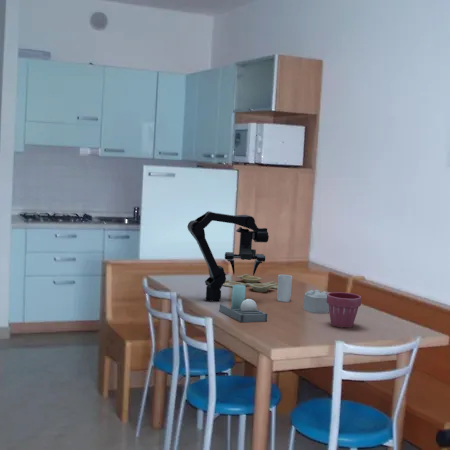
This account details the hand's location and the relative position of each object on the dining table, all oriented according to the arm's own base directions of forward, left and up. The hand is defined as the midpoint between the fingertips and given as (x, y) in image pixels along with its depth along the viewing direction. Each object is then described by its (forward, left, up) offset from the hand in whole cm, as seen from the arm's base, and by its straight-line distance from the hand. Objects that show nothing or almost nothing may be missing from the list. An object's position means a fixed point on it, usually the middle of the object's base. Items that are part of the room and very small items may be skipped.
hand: (243, 275), depth 330 cm
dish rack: (-2, -33, -12) cm, 35 cm away
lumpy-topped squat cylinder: (+33, -12, -12) cm, 37 cm away
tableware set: (+10, +38, -13) cm, 41 cm away
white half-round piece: (0, -34, -12) cm, 36 cm away
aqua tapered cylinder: (-4, -28, -12) cm, 31 cm away
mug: (+20, +6, -12) cm, 24 cm away
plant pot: (+39, -40, -12) cm, 57 cm away
